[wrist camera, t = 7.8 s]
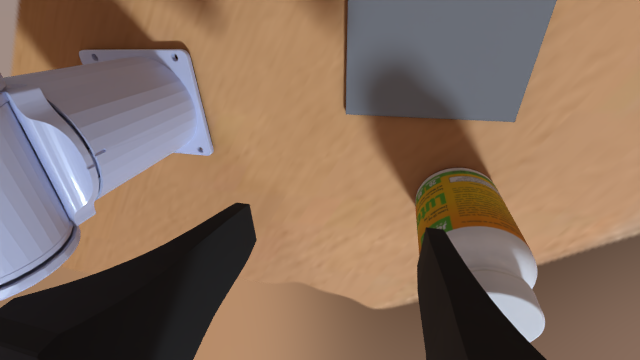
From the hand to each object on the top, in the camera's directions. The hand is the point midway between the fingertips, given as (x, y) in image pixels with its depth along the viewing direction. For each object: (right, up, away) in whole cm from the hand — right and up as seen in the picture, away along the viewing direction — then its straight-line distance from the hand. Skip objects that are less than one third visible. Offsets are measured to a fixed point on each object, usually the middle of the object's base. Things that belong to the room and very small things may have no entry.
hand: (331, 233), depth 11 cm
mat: (+6, +11, +4) cm, 13 cm away
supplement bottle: (+9, +1, +9) cm, 13 cm away
